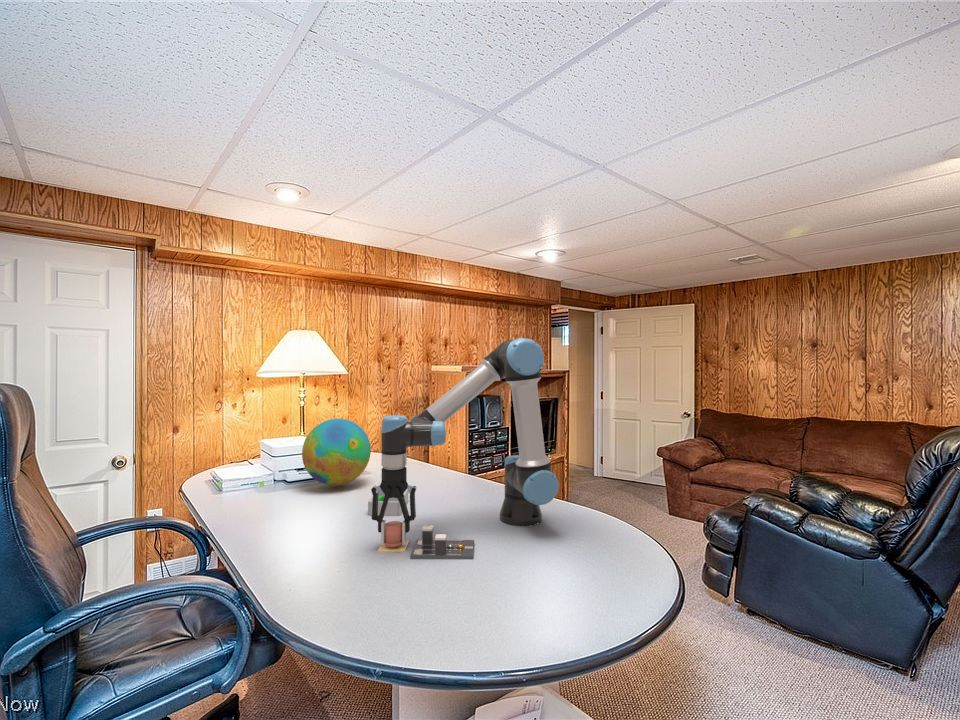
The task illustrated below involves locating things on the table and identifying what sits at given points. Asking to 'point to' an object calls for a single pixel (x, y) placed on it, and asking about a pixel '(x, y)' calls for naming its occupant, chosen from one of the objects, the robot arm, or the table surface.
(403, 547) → the pad
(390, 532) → the cap
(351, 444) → the globe
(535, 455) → the robot arm
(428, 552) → the breaker panel
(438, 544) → the toggle
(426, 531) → the toggle
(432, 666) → the table surface
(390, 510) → the parts corral
